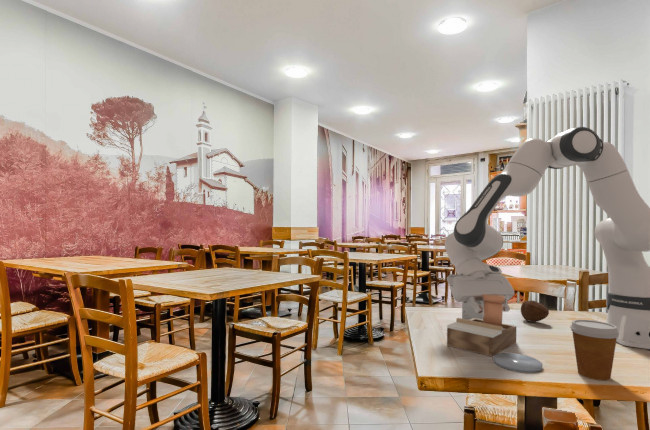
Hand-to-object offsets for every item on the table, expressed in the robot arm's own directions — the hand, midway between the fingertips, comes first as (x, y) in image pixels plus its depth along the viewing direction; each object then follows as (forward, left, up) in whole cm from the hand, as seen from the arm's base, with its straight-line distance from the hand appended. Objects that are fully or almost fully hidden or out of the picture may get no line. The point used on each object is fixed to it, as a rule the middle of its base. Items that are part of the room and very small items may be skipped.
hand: (493, 311), depth 113 cm
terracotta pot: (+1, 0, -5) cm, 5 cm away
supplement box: (+16, -23, -10) cm, 29 cm away
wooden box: (+2, +3, -9) cm, 10 cm away
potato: (0, -38, -10) cm, 39 cm away
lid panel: (+2, +9, -4) cm, 10 cm away
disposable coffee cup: (-26, +7, -10) cm, 29 cm away
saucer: (-11, +13, -9) cm, 20 cm away
